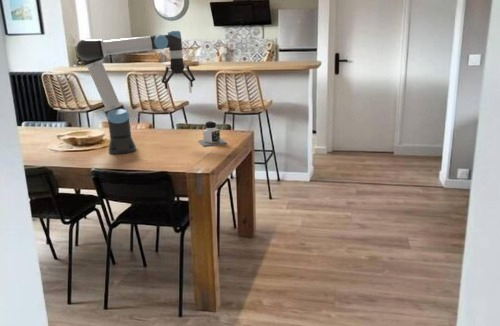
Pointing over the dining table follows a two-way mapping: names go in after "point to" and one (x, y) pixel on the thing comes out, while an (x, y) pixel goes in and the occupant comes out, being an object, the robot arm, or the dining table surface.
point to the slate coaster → (212, 143)
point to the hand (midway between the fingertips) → (179, 93)
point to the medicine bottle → (211, 133)
